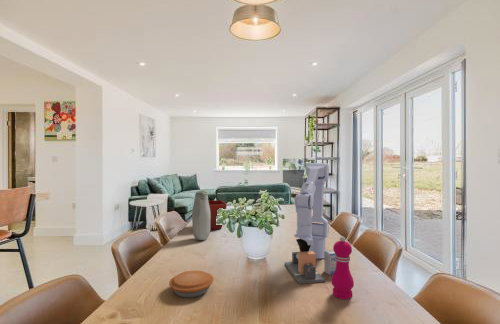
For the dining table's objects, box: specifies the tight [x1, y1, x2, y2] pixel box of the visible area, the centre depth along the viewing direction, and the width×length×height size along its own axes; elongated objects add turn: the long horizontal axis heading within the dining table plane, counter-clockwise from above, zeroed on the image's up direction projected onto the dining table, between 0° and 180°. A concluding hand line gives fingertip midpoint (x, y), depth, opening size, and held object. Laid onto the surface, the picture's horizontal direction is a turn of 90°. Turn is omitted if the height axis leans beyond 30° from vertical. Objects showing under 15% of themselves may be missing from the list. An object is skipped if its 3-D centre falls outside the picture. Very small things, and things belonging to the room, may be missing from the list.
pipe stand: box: [284, 251, 325, 285], centre depth 114 cm, size 19×10×6 cm, turn 8°
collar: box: [297, 251, 317, 274], centre depth 110 cm, size 3×6×8 cm, turn 98°
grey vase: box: [191, 190, 211, 241], centre depth 160 cm, size 10×10×28 cm
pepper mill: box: [331, 236, 355, 300], centre depth 95 cm, size 7×7×20 cm
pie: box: [168, 270, 214, 299], centre depth 100 cm, size 15×16×5 cm
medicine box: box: [323, 249, 336, 277], centre depth 114 cm, size 8×4×9 cm, turn 105°
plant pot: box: [208, 199, 228, 231], centre depth 187 cm, size 19×19×17 cm
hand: (304, 257), depth 113 cm, fingers closed
